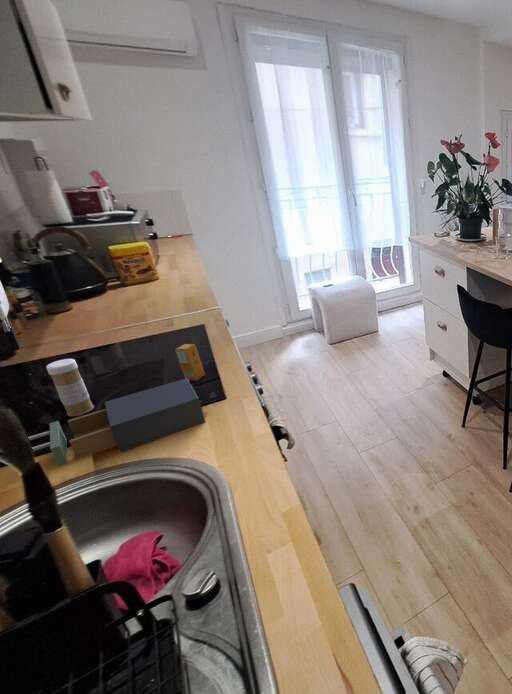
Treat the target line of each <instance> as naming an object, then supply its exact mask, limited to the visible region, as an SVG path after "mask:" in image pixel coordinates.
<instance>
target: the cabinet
mask: <svg viewBox="0 0 512 694" xmlns="http://www.w3.org/2000/svg"><path fill="white" fill-rule="evenodd" d="M104 406H105V409H106V411H107V415H108V420H109V424H110V428H111V430H112V433H113V435H114V438H115V440H116V443H117V445H116V446H117V448H118V450H119V452H120V453H123V452H125V451H128V450H131V449H134V448H136V447H140V446H142V445H145V444H148V443H151V442H154V441H156V440H159V439H162V438H164V437H167V436H169V435H172V434H176V433H178V432H181V431H184V430H187V429H189V428H192V427H195V426H197V425H200V424H203V423H205V422H206V419H205V416H204V411H203V409H202V405H201V402H200V398H199V397H198V395H197V393H196V392H195V390H194V388H193V386H192V384H191V383H190V381H188V380H187V378H185V377H184V378H182V379H179V380H175V381H172V382H168V383H165V384H162V385H157V386H155V387H151V388H148V389H145V390H140V391H137V392H134V393H130V394H128V395H124V396H121V397H117V398H113V399H110V400H106V401H104Z"/></svg>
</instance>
